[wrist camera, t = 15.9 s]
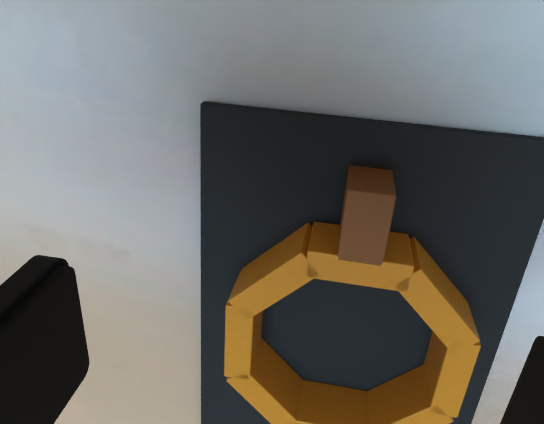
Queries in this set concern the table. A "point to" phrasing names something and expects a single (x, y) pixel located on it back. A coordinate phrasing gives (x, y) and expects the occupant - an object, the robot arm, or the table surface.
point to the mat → (327, 209)
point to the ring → (359, 271)
